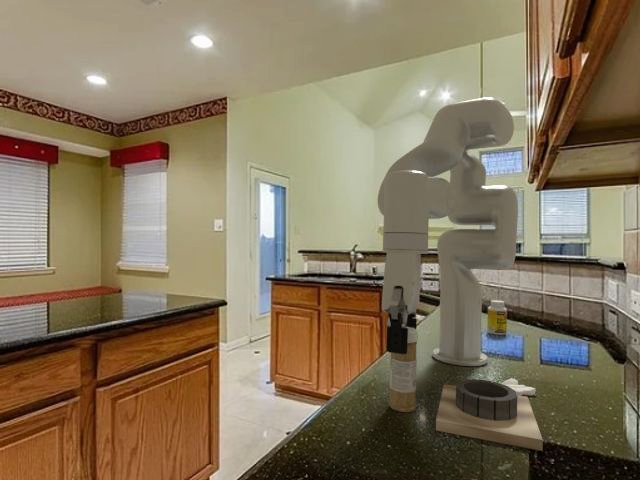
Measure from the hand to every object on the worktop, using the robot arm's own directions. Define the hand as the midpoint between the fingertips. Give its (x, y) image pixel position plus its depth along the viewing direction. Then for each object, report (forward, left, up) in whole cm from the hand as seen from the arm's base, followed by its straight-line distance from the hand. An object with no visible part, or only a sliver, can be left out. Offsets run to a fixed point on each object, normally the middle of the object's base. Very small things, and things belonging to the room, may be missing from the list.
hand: (402, 345), depth 65 cm
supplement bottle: (-69, +18, -11) cm, 72 cm away
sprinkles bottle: (-1, 0, -11) cm, 11 cm away
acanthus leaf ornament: (-18, +18, -11) cm, 28 cm away
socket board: (-3, +13, -11) cm, 17 cm away
